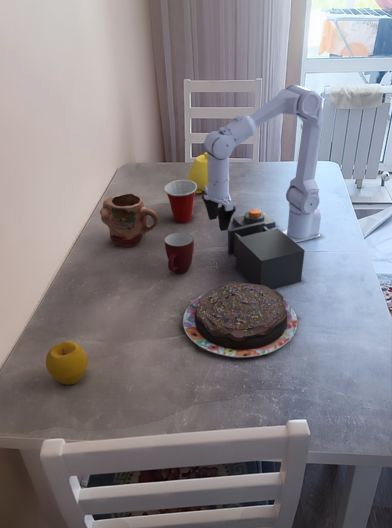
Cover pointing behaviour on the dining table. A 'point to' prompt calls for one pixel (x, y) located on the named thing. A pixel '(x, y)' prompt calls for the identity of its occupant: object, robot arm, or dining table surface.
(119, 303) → the dining table surface
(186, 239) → the mug
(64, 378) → the apple
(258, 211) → the button
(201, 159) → the teapot
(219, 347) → the chocolate cake
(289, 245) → the black block
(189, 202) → the plastic cup
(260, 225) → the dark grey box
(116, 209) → the brown clay mug
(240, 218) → the control block
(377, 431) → the dining table surface
